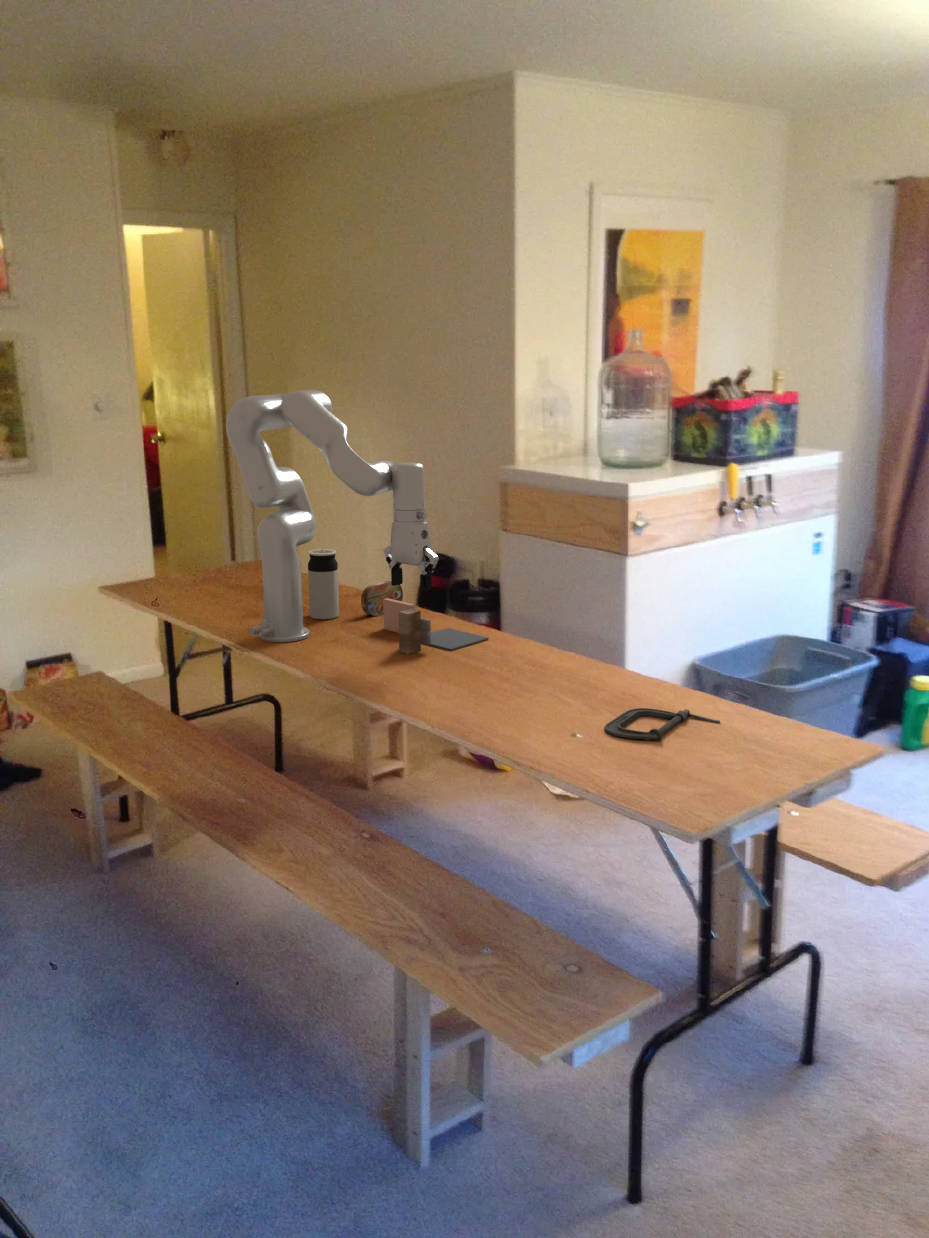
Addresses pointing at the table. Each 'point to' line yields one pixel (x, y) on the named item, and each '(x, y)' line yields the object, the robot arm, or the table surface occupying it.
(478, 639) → the mat
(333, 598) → the travel mug
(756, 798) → the table surface
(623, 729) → the c clamp
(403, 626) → the brown grey block
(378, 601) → the tin
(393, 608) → the tile
